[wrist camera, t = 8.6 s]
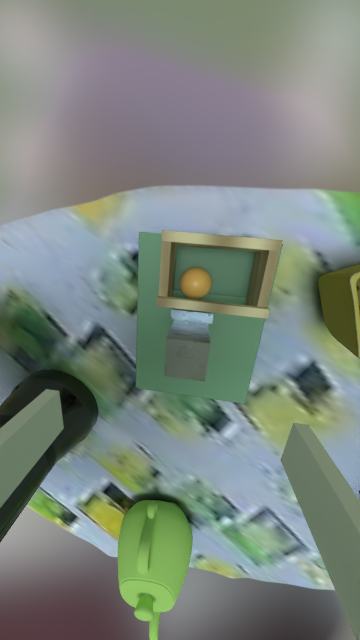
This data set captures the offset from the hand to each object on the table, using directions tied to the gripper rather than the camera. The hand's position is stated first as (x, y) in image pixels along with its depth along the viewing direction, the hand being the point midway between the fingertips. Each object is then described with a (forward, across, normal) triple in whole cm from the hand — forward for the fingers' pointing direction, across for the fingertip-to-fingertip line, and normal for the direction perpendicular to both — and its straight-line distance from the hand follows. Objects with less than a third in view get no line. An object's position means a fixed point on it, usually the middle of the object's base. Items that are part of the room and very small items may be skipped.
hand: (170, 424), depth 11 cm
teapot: (+19, -1, -47) cm, 51 cm away
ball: (+16, +1, +6) cm, 17 cm away
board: (+19, +2, 0) cm, 19 cm away
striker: (+17, +1, +1) cm, 17 cm away
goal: (+18, +3, +8) cm, 20 cm away
